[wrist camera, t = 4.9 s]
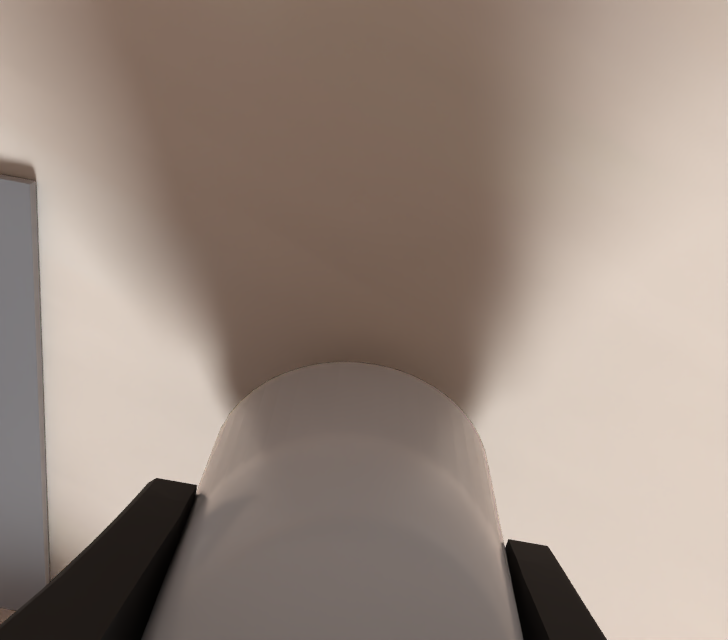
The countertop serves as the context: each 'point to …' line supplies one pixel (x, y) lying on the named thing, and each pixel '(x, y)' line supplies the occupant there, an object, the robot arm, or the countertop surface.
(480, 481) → the grey jar
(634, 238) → the countertop surface
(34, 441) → the letter card
